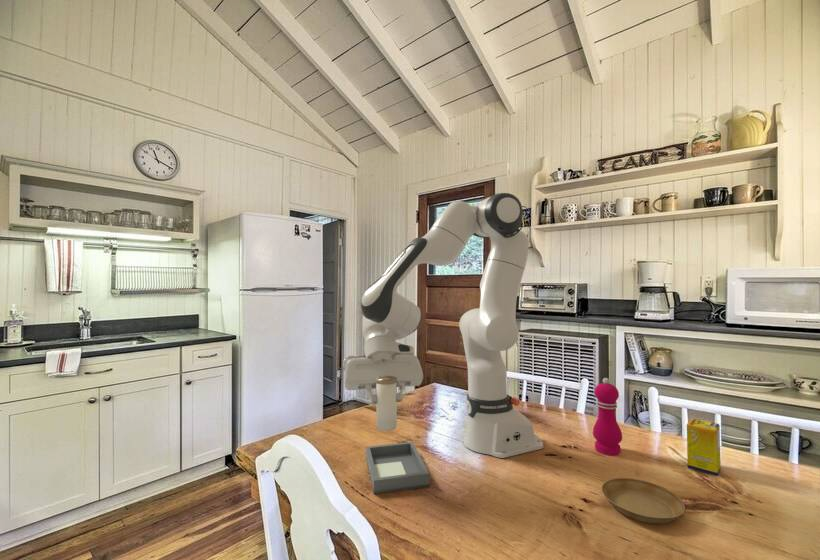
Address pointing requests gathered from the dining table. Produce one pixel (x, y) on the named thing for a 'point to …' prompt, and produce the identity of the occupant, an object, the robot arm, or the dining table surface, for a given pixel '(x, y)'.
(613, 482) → the plant saucer
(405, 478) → the tray
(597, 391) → the pepper mill
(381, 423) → the tube
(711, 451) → the supplement box
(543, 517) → the dining table surface
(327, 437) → the dining table surface
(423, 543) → the dining table surface
